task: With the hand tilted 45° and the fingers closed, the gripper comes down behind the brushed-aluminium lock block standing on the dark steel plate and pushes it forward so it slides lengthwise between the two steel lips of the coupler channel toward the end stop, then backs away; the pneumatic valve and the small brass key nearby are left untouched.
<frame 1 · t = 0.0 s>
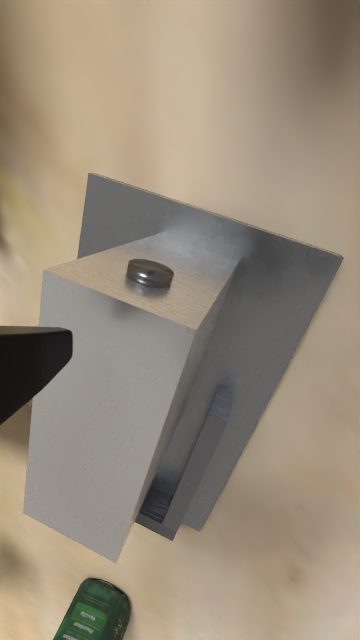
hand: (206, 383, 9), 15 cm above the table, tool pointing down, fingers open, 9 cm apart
lock block: (170, 337, 25), point 1 cm above the table, touching coupler channel
coffee jar: (107, 596, 45), on the table
coupler channel: (158, 380, 28), on the table
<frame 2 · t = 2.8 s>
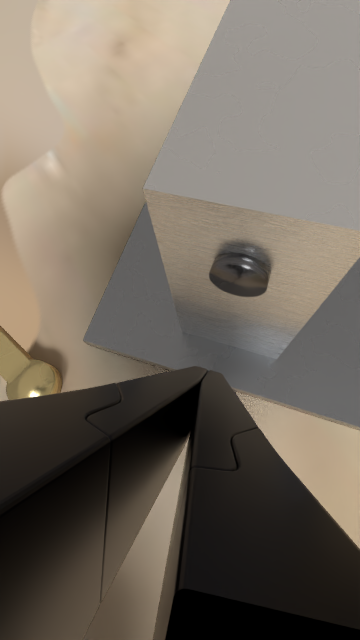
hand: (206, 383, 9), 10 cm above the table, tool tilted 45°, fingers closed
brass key: (17, 362, 21), on the table
lock block: (256, 244, 21), point 1 cm above the table, touching coupler channel
coupler channel: (271, 198, 24), on the table
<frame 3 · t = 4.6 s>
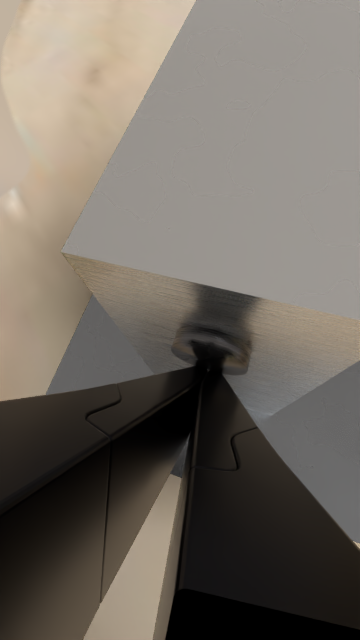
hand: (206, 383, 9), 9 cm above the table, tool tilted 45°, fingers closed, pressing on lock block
lock block: (246, 278, 19), point 1 cm above the table, touching gripper
coupler channel: (256, 243, 21), on the table
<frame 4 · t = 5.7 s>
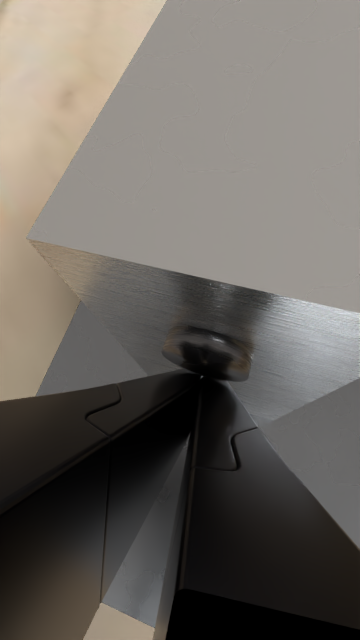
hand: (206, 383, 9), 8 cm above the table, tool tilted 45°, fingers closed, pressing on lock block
lock block: (246, 274, 18), point 1 cm above the table, touching coupler channel, gripper
coupler channel: (239, 305, 18), on the table
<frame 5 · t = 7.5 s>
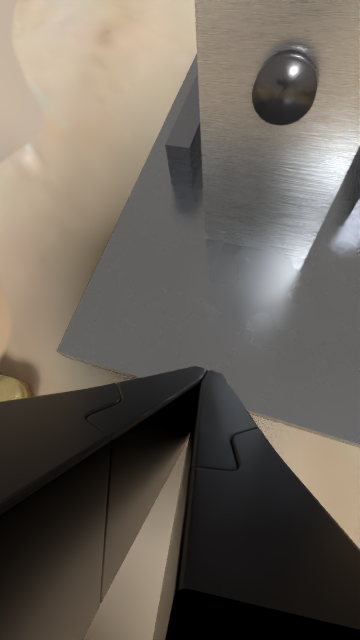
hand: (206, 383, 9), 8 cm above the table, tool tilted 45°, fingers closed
lock block: (278, 157, 21), point 1 cm above the table, touching coupler channel
coupler channel: (271, 188, 21), on the table
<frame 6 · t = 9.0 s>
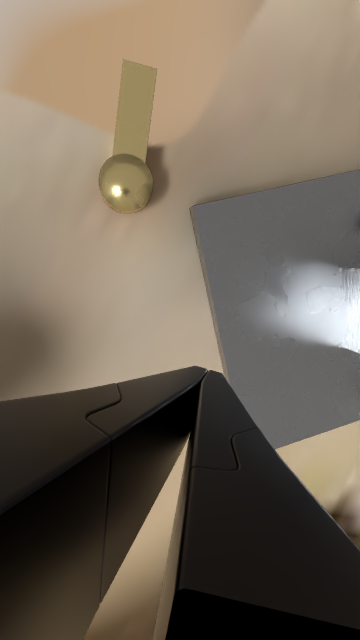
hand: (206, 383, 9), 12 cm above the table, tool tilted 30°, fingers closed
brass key: (131, 142, 18), on the table
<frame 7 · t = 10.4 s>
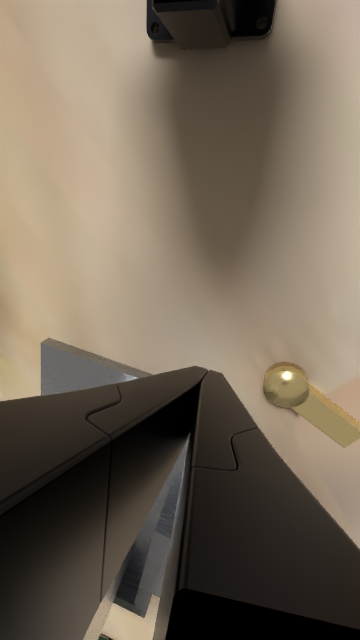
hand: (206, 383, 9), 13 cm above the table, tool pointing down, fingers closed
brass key: (312, 401, 23), on the table
lock block: (115, 503, 32), point 1 cm above the table, touching coupler channel
coupler channel: (120, 485, 33), on the table
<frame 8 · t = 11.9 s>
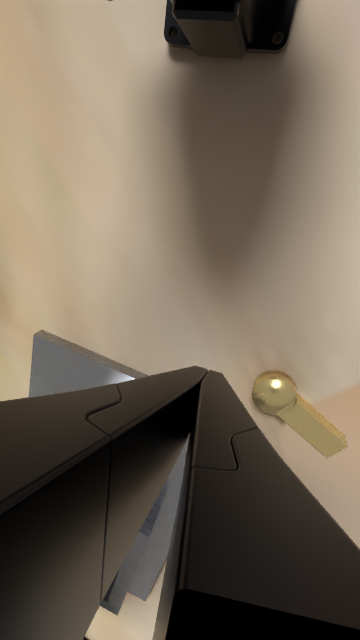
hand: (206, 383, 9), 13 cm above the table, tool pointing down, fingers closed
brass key: (299, 410, 23), on the table
coupler channel: (103, 481, 33), on the table
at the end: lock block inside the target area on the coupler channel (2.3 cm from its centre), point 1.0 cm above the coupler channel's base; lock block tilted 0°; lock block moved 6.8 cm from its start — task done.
